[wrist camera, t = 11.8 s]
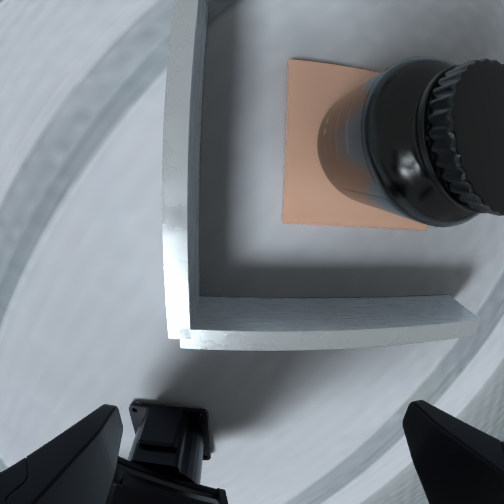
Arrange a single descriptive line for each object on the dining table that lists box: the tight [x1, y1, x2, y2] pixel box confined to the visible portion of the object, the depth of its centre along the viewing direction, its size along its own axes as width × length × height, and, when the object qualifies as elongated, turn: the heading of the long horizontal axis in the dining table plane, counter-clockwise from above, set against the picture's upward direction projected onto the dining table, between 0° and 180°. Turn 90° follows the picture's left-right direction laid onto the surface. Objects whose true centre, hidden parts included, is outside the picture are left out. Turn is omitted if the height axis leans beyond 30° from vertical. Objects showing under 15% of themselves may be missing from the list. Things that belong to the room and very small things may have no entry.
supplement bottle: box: [317, 56, 504, 227], centre depth 12 cm, size 7×7×12 cm
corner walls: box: [162, 0, 481, 351], centre depth 17 cm, size 20×20×4 cm
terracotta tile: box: [281, 59, 428, 231], centre depth 18 cm, size 10×10×1 cm
